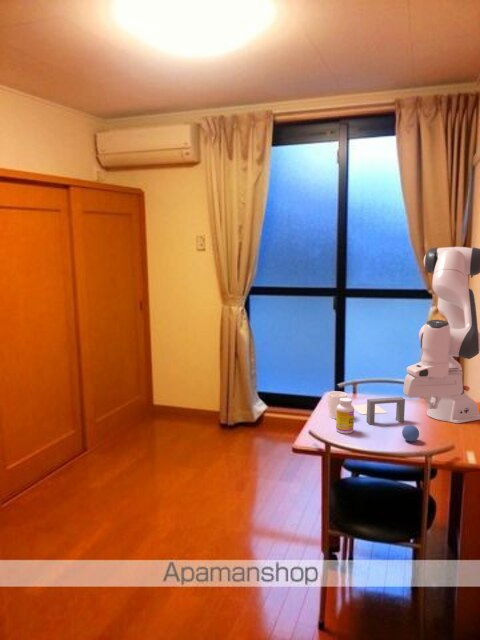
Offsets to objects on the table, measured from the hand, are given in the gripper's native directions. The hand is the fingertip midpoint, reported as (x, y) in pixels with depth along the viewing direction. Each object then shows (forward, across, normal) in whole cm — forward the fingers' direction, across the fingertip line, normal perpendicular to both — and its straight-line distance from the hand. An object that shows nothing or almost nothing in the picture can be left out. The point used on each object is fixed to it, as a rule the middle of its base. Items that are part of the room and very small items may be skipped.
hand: (432, 408), depth 167 cm
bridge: (+17, 0, -33) cm, 37 cm away
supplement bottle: (+17, +20, -27) cm, 38 cm away
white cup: (+17, +17, -43) cm, 49 cm away
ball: (+14, 0, -13) cm, 19 cm away
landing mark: (+17, 0, -49) cm, 52 cm away
